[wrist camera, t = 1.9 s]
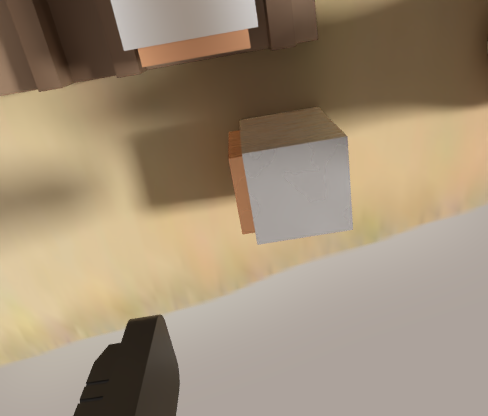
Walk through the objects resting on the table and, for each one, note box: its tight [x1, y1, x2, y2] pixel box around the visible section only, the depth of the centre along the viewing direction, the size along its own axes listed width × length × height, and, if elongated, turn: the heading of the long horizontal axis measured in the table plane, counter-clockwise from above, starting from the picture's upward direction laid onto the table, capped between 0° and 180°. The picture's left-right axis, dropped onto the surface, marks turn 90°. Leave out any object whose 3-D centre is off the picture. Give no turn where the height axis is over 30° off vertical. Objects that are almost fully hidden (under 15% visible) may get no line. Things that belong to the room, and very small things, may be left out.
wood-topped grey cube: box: [228, 107, 353, 245], centre depth 20 cm, size 4×5×6 cm
